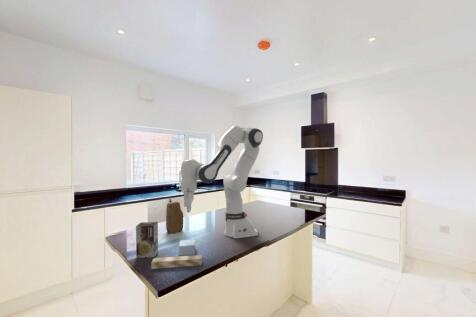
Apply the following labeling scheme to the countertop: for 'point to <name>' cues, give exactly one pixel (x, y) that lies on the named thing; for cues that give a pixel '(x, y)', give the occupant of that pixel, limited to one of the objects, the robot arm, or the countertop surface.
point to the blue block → (187, 247)
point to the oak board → (177, 261)
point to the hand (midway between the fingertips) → (189, 211)
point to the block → (174, 218)
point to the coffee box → (146, 239)
